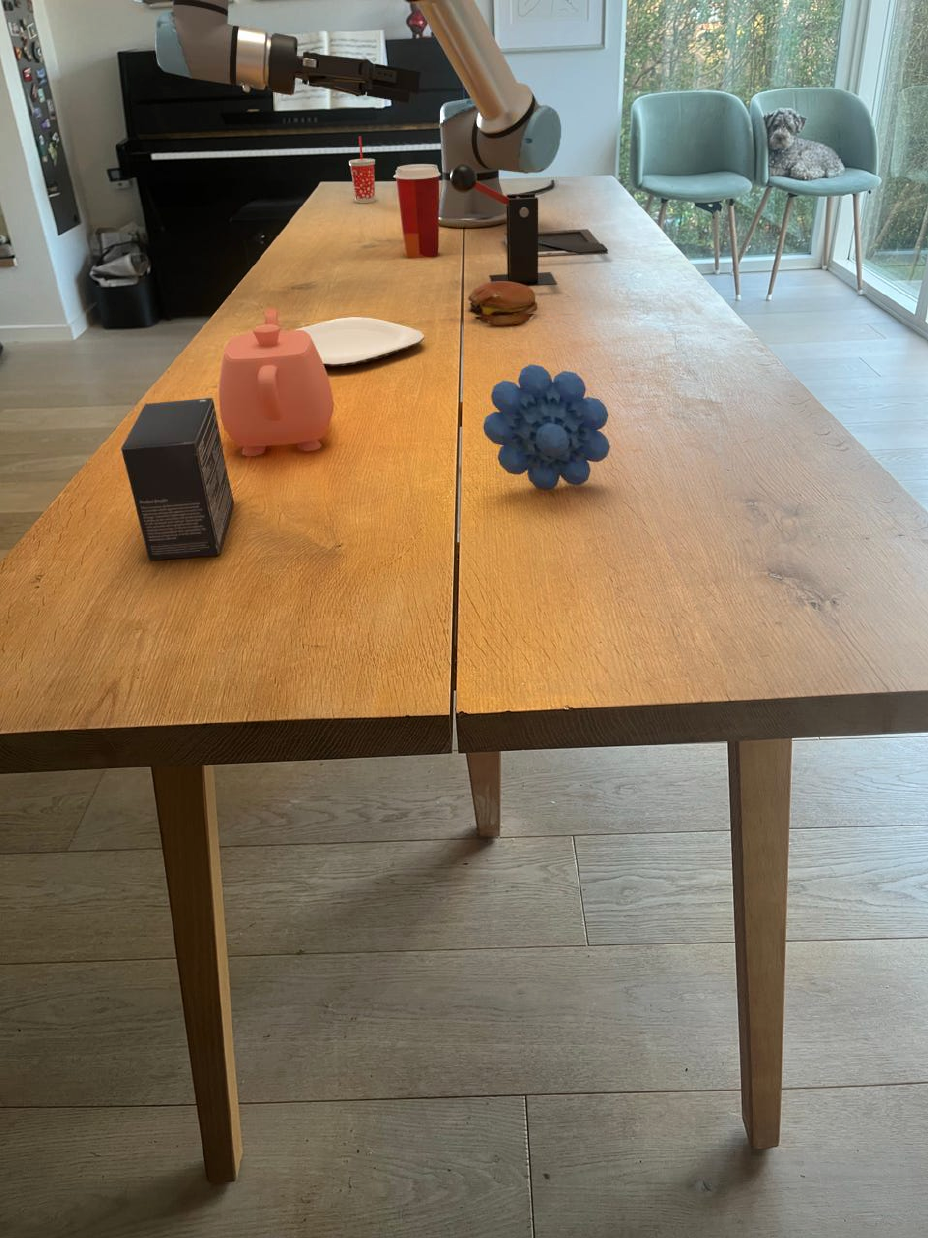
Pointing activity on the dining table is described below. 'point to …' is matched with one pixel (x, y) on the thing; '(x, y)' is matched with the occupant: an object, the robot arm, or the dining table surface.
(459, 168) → the switch lever
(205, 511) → the small box
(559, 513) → the dining table surface
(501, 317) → the burger
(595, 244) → the picture frame
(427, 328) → the dining table surface
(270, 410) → the teapot
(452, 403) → the dining table surface
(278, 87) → the robot arm
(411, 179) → the coffee cup
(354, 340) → the plate
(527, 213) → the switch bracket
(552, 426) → the blue beaded flower
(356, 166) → the beverage cup
